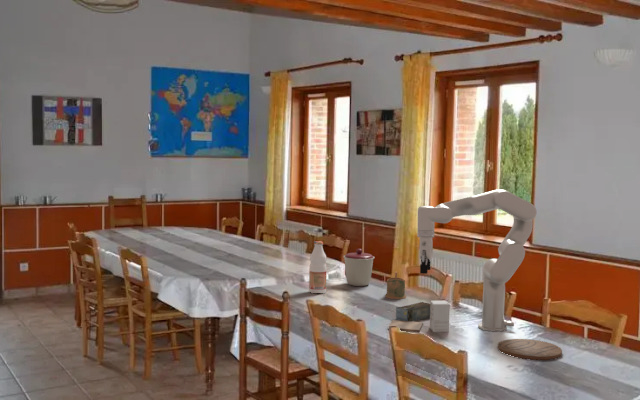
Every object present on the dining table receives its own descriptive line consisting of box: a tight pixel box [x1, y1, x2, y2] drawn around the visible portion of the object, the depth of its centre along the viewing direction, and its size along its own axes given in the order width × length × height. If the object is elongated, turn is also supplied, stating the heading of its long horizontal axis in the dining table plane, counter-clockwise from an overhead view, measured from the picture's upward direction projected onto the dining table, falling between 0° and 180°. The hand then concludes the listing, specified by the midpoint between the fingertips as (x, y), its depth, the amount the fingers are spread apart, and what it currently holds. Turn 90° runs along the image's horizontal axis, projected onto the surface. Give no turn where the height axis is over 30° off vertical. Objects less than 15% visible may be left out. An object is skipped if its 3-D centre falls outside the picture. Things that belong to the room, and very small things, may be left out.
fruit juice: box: [308, 240, 328, 294], centre depth 392 cm, size 9×9×28 cm
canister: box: [343, 248, 375, 287], centre depth 416 cm, size 18×18×21 cm
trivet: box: [497, 338, 563, 361], centre depth 290 cm, size 25×25×2 cm
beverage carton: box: [395, 301, 430, 322], centre depth 341 cm, size 8×19×7 cm, turn 131°
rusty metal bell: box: [384, 271, 407, 300], centre depth 389 cm, size 12×18×12 cm, turn 174°
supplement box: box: [429, 300, 451, 333], centre depth 319 cm, size 7×7×13 cm
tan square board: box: [387, 319, 424, 333], centre depth 323 cm, size 14×14×1 cm
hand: (425, 271), depth 322 cm, fingers open, 9 cm apart
